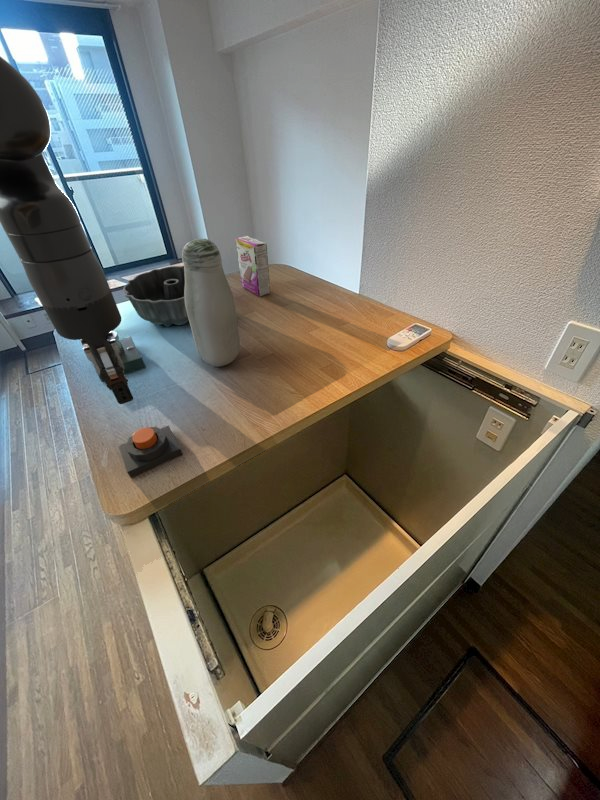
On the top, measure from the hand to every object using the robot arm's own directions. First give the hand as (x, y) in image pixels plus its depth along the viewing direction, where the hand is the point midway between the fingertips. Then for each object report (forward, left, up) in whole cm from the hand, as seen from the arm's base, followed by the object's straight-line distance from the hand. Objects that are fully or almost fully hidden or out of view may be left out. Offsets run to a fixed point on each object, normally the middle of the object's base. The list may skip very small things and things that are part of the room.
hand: (125, 400), depth 51 cm
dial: (+21, +27, -10) cm, 36 cm away
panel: (+21, +27, -13) cm, 36 cm away
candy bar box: (+72, +14, -13) cm, 74 cm away
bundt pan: (+49, +29, -13) cm, 58 cm away
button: (0, 0, -10) cm, 10 cm away
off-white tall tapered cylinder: (+30, +3, -13) cm, 33 cm away
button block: (0, 0, -13) cm, 13 cm away
